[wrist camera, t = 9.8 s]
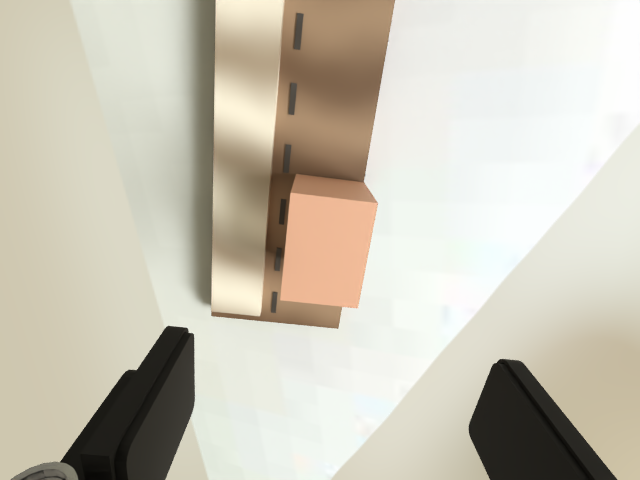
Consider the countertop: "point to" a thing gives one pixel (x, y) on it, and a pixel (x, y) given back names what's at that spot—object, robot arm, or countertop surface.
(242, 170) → the board
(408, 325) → the countertop surface
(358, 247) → the peach rectangular block
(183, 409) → the robot arm
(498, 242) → the countertop surface
